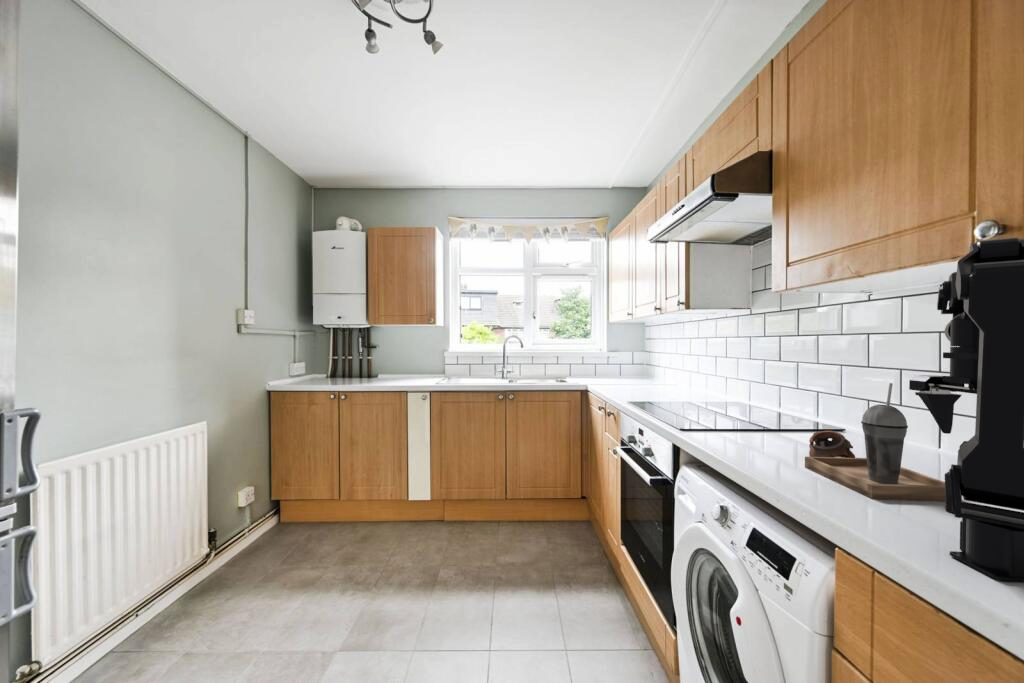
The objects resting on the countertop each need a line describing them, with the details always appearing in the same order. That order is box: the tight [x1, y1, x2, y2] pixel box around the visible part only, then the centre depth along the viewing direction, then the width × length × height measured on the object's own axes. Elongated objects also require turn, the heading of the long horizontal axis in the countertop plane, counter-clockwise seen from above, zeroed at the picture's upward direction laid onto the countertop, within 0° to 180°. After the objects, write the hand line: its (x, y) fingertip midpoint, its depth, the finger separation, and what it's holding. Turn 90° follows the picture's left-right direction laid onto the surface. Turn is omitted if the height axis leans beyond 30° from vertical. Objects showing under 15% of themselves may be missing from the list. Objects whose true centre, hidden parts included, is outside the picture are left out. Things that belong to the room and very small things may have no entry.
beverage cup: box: [860, 382, 909, 484], centre depth 88 cm, size 7×7×20 cm
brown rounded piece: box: [808, 430, 856, 458], centre depth 108 cm, size 12×10×8 cm
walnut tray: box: [804, 456, 963, 502], centre depth 90 cm, size 20×16×2 cm
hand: (972, 439), depth 73 cm, fingers open, 9 cm apart
